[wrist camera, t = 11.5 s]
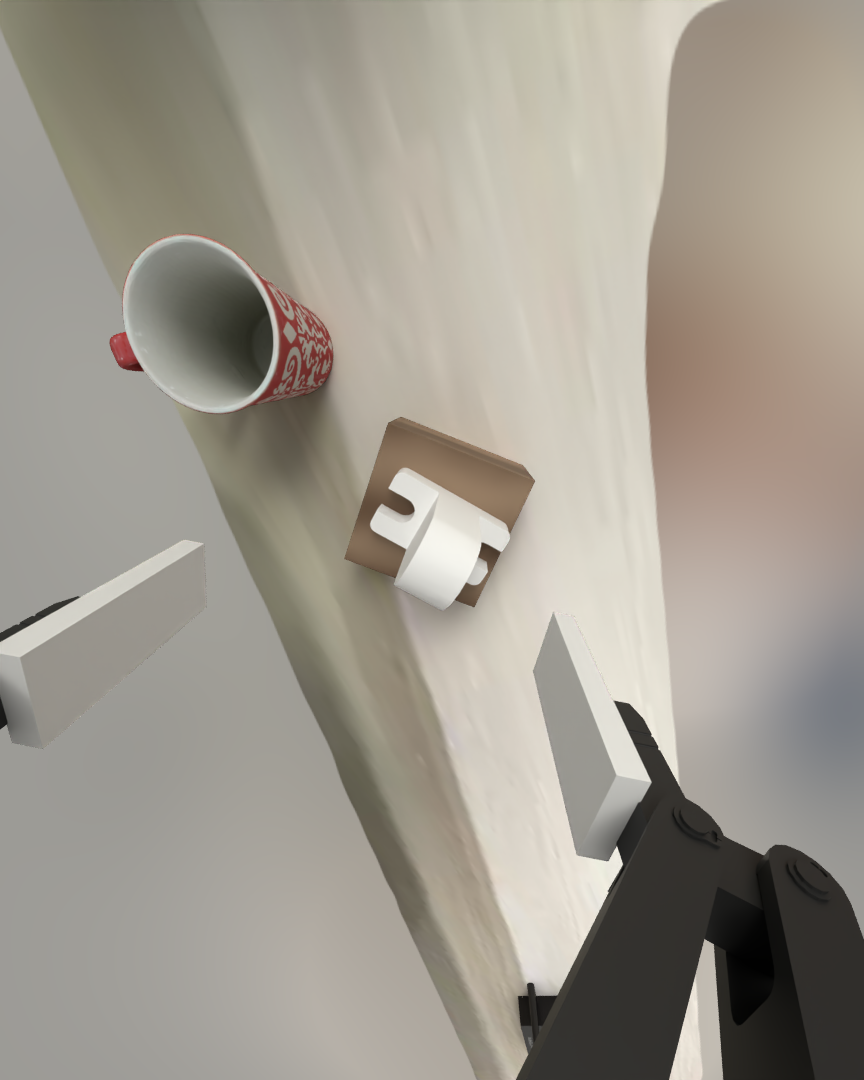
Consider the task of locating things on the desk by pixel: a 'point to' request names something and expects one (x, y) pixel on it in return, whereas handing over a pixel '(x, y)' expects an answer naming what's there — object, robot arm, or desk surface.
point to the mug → (216, 329)
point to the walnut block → (452, 468)
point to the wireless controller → (533, 1014)
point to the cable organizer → (437, 539)
